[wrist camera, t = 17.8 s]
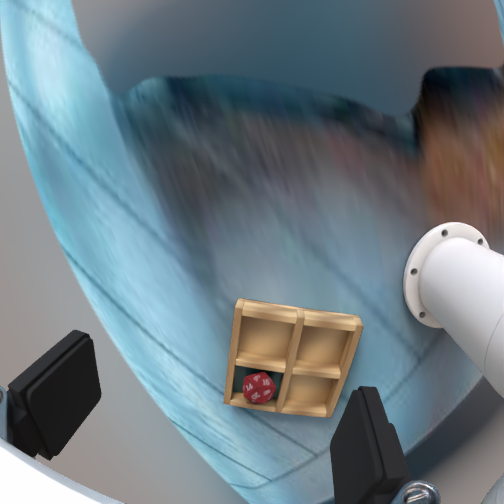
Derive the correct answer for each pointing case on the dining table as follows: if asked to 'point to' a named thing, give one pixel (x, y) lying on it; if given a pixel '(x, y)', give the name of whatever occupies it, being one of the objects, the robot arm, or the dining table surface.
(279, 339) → the wooden compartment tray
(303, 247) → the dining table surface
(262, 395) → the dice
